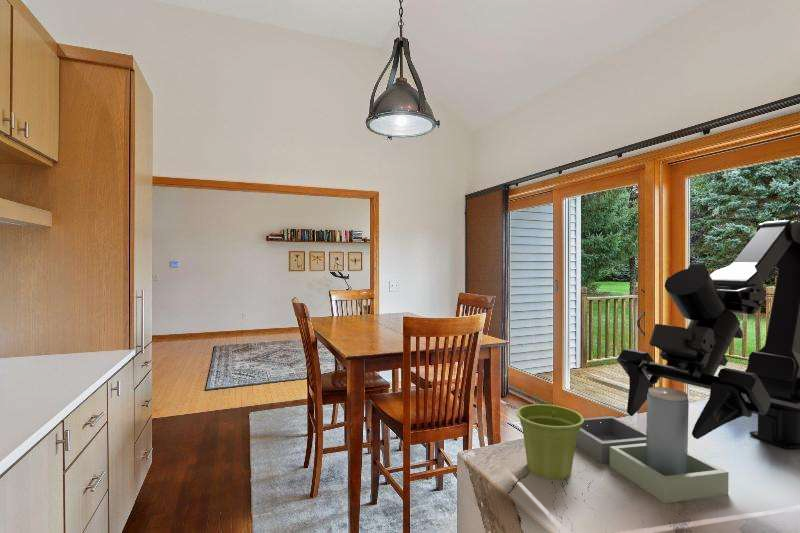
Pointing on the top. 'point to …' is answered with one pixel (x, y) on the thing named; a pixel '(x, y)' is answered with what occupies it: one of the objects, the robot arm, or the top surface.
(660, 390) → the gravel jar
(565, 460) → the plant pot
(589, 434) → the charcoal bin
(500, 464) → the top surface
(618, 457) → the sage bin
